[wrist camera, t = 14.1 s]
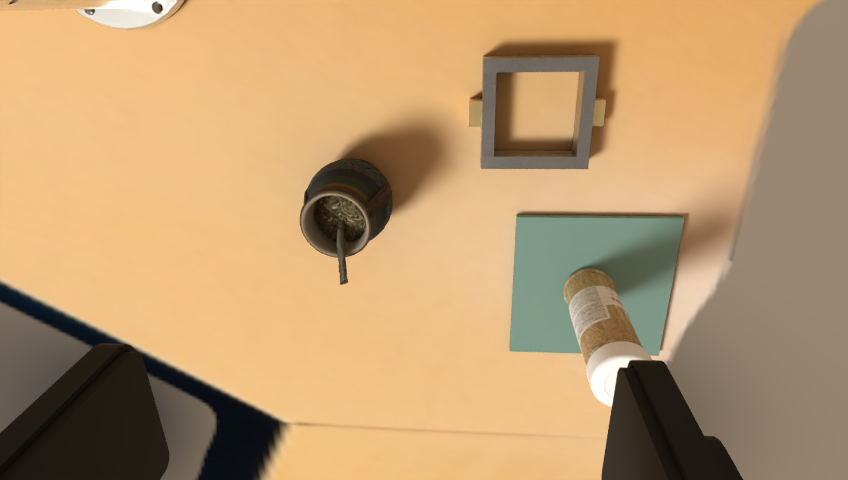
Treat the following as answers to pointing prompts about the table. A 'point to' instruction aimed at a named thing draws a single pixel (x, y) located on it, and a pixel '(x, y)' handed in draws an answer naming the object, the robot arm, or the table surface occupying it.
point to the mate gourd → (345, 209)
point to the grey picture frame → (585, 118)
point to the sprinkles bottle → (601, 329)
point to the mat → (600, 249)
